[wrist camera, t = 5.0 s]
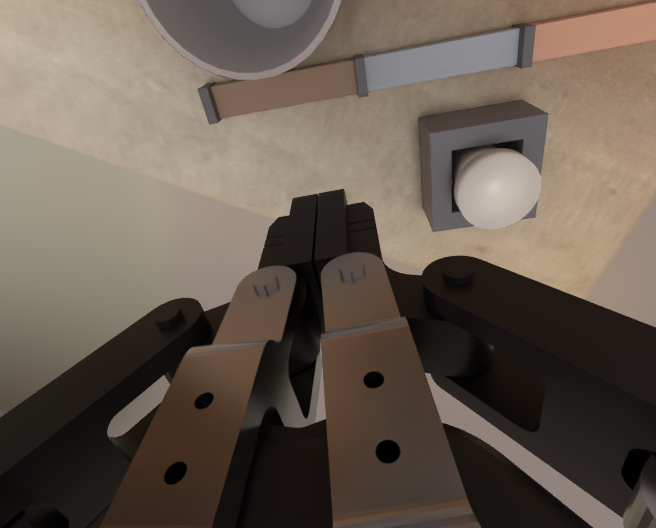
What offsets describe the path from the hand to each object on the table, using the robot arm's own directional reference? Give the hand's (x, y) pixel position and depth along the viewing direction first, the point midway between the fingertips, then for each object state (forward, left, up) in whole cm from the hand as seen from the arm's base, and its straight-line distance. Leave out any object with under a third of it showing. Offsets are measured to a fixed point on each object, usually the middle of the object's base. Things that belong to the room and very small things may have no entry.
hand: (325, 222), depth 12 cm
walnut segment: (-1, -3, -18) cm, 19 cm away
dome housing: (+6, +9, -18) cm, 21 cm away
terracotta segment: (-1, +17, -18) cm, 25 cm away
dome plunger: (+6, +9, -18) cm, 21 cm away
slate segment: (-1, +7, -19) cm, 20 cm away
